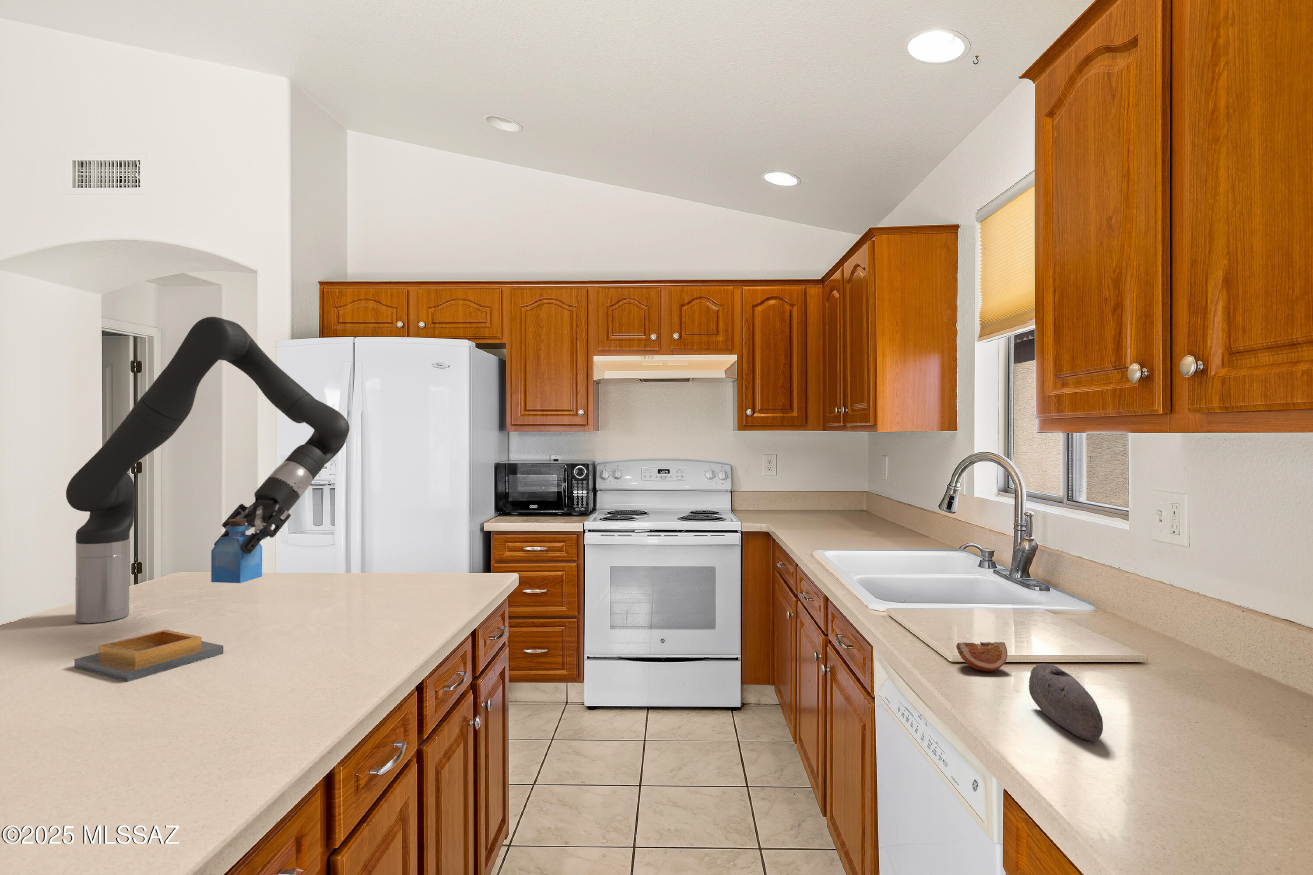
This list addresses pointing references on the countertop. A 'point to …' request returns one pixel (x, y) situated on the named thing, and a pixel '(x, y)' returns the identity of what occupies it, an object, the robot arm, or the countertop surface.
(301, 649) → the countertop surface
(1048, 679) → the dark grey stone
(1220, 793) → the countertop surface
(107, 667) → the wooden tray
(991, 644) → the fruit slice
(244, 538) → the perfume bottle
